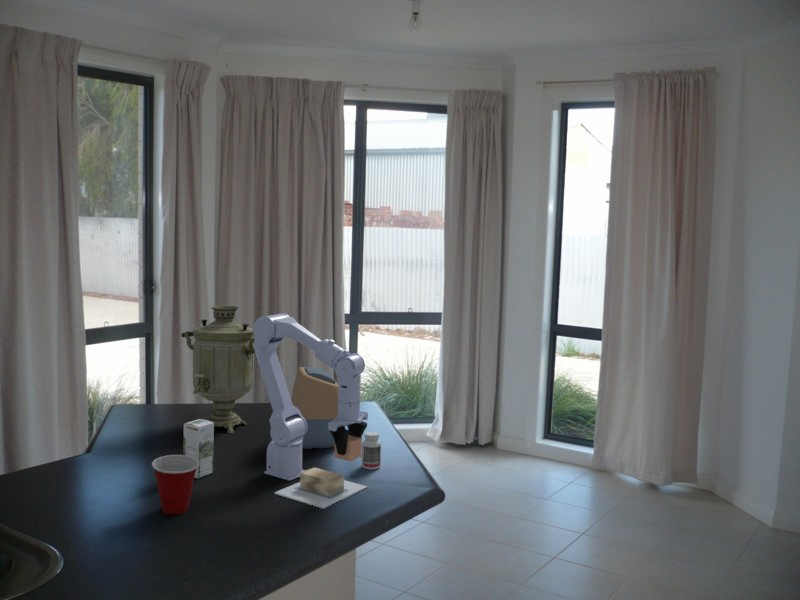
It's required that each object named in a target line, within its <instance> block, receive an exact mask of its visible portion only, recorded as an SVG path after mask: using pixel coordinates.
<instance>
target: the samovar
mask: <svg viewBox="0 0 800 600" xmlns="http://www.w3.org/2000/svg"><path fill="white" fill-rule="evenodd" d="M210 308H211V310H212V311H213V317H214V319H215V321H212V322H210V323H208V325H207V322H208V320H207V319H204V318H203V319H202V320H200V322H201V324H202V326H198V327H196V328H193V329H192V331H189V330H187V331H186V332H182V333H181V335H180V336H181V338H185V339H186V345H187V346H188V348H189V349H190V350H192V353H193V354H192V360H193V362H192V384H193V388H194V389H193V392H192V394H194V395H196V394H199V395H200V396H201V397H202V398H204V399H206V400H208V401H210V402H212V408H213V409H215V410H216V412H214V413H212V414H211V416H209V417H208V418H207V419H206V420H207V421H210V422H213V423H214V428H215V427H218V428H221V427H224V428H225V429H226V430H227V434H234V433H235V430H234V427H235V425H239V424H244V425H245V426H246V425H247V422H246V421H245V420H242V418H241V416H240V415H238V414H237V413H236V412H235V411H234V412H233V411H232V409H234V408H235V407H236V401H237V400H239V399H241V398H243V397H245V395H246V394H248V393H249V392H250V391H251V390H252V388H253V386H254V382H255V380H254V375H255V374H254V371H255V370H254V368H255V367H254V365H255V363H254V362H255V351H254V339H255V337H254V333H253V330H252V328H253V327H249V324H248V323H242V325H241V324H239V323H238V322H237V321H234V319H235V317H236V311H237V310H238V309H239V307H238V306H235V305H214V306H210ZM191 337H194V339H195V340H194V342H193V344H192V338H191ZM233 432H234V433H233Z"/></svg>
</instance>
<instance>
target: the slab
mask: <svg viewBox="0 0 800 600" xmlns="http://www.w3.org/2000/svg"><path fill="white" fill-rule="evenodd" d="M305 470H306V471H304V472H301V473H300V477H299V478H300V479H299V482H300V488H303V489H306V490H309V491H313V492H316V493H320V494H323V495H326V496H330V497H331V496H333V495H335V494H337V493H339V492H341V491H344V480H345V474H340V473H336V472H334V471H329V470H326V469H322V468H318V467H312V468H308V469H305Z"/></svg>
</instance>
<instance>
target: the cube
mask: <svg viewBox="0 0 800 600" xmlns="http://www.w3.org/2000/svg"><path fill="white" fill-rule="evenodd" d="M362 442H363V439H362V437H361V438H359V437H355V436H351V435H349V437H348V440H347V447H346V454H345V455H340V454H338V453H337V449H336V445H335V447H334V458H335V459H339V460H343V461H347V462H352V461H354V460H356V459H359V458H362Z"/></svg>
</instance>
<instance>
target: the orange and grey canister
mask: <svg viewBox="0 0 800 600" xmlns="http://www.w3.org/2000/svg"><path fill="white" fill-rule="evenodd" d="M338 387H339V383H338V381H336V380H335V379H334V377H333V376H332V375H331V374H330V373H328V372H327V371H325V370H323V369H321V368H316V367H311V366H305V367H303V366H300V367H299V368H298V370H297V373H296V377H295V379H294V383H293V387H292V396H291V401H292V404H293V405H294V406H295V407H296V408H298V409H299V410H300V412H301V415H302V417H303V418H304V419H305V420H306V422H307V426H308V429H307V432H306V434H305V435H304V436H303V440H302V450H313V449H312V448H318V449H331V448H332V449H333V448H335V441H334V439H333V436H332V434H331V433H330V431H329V430H328V423H329V422H331V421H333V420H334V419H335V418H336V417H338ZM344 428H346V426H344Z"/></svg>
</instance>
